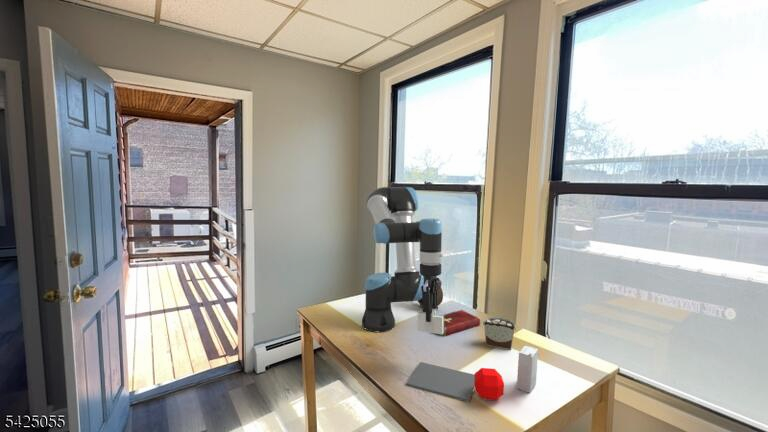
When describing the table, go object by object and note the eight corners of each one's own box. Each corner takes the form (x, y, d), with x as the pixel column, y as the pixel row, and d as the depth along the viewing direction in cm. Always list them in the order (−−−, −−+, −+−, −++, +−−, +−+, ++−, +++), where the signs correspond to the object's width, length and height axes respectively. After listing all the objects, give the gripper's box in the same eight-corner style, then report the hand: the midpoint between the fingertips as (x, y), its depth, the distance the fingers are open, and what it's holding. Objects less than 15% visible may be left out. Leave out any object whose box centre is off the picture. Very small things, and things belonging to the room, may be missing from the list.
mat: (406, 384, 106) (406, 383, 106) (420, 363, 118) (420, 361, 118) (469, 402, 97) (469, 400, 97) (477, 377, 110) (477, 375, 110)
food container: (516, 343, 133) (516, 319, 132) (515, 350, 127) (516, 325, 126) (484, 337, 138) (484, 314, 137) (482, 344, 132) (482, 320, 131)
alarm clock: (413, 307, 173) (413, 269, 171) (422, 303, 178) (423, 267, 176) (434, 315, 162) (435, 275, 160) (444, 311, 167) (444, 272, 165)
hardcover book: (480, 326, 150) (480, 317, 149) (444, 337, 139) (445, 328, 139) (461, 317, 160) (461, 309, 160) (427, 327, 149) (427, 318, 149)
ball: (499, 388, 103) (500, 365, 103) (504, 405, 96) (505, 380, 95) (473, 386, 105) (473, 363, 104) (476, 403, 97) (476, 378, 96)
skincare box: (522, 379, 108) (523, 344, 107) (537, 385, 105) (538, 348, 104) (516, 388, 104) (517, 351, 102) (531, 394, 101) (532, 356, 100)
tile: (417, 330, 118) (417, 313, 118) (419, 327, 120) (419, 311, 120) (442, 334, 114) (442, 317, 114) (443, 332, 116) (443, 315, 116)
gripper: (434, 268, 107) (434, 339, 109) (446, 259, 121) (446, 322, 122) (412, 266, 110) (412, 334, 112) (427, 258, 124) (426, 319, 126)
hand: (430, 328), depth 117 cm, fingers closed on tile, 2 cm apart
